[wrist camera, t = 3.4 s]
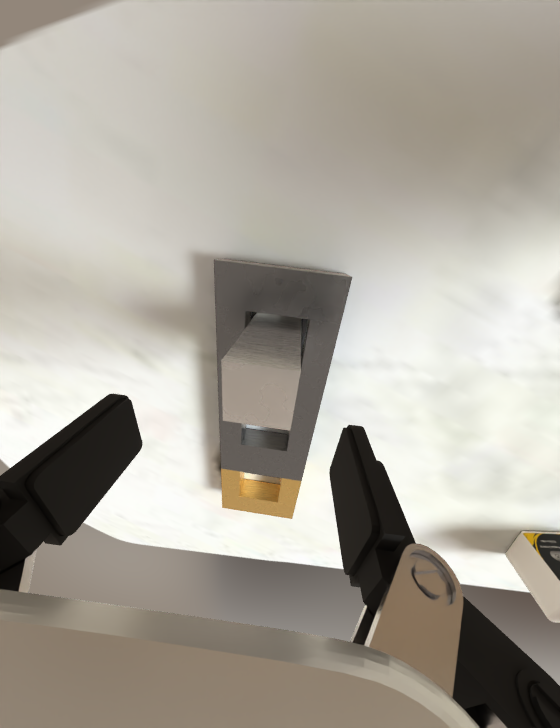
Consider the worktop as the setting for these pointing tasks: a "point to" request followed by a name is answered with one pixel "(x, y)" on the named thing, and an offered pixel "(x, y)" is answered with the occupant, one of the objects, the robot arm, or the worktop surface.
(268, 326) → the steel peg
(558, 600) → the medicine bottle
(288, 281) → the rail
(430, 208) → the worktop surface
